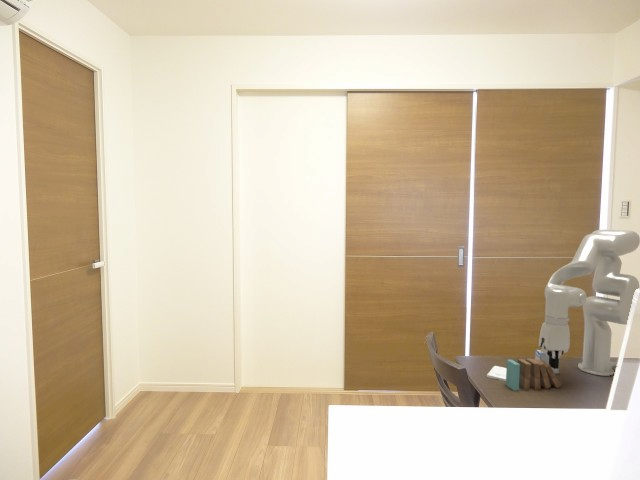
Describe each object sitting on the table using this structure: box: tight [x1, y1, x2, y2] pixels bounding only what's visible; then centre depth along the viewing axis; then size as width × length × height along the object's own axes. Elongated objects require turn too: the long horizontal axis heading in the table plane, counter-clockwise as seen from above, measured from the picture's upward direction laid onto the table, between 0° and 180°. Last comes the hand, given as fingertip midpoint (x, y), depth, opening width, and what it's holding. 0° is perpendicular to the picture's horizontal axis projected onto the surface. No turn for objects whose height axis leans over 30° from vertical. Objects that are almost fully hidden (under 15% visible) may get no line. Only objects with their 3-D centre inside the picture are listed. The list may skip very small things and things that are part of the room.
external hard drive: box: [486, 365, 507, 382], centre depth 166 cm, size 2×8×12 cm
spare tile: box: [505, 358, 520, 392], centre depth 154 cm, size 2×5×10 cm, turn 8°
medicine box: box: [534, 349, 560, 375], centre depth 170 cm, size 8×4×9 cm, turn 84°
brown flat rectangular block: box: [533, 358, 552, 390], centre depth 155 cm, size 2×5×10 cm, turn 7°
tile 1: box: [539, 360, 562, 389], centre depth 156 cm, size 2×5×10 cm
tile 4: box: [517, 358, 531, 391], centre depth 154 cm, size 2×5×10 cm, turn 7°
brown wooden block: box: [525, 357, 542, 390], centre depth 155 cm, size 2×5×10 cm, turn 8°
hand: (553, 367), depth 156 cm, fingers closed
